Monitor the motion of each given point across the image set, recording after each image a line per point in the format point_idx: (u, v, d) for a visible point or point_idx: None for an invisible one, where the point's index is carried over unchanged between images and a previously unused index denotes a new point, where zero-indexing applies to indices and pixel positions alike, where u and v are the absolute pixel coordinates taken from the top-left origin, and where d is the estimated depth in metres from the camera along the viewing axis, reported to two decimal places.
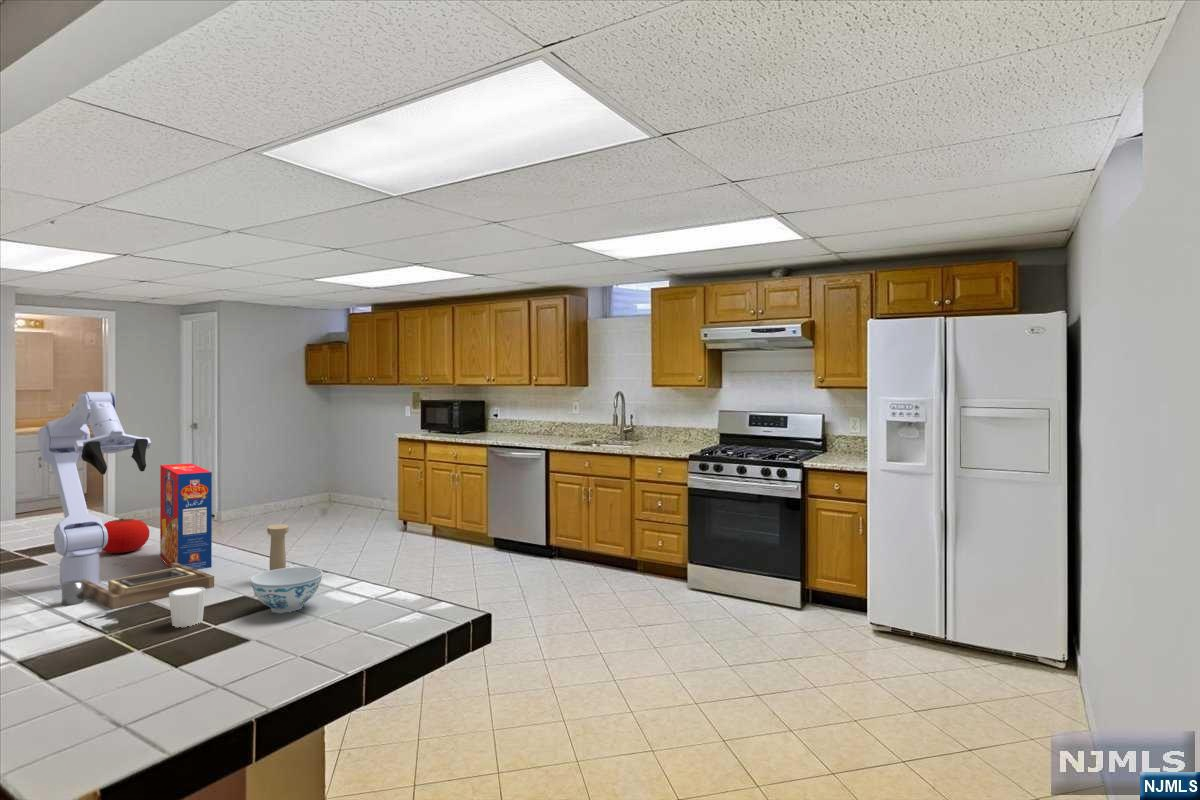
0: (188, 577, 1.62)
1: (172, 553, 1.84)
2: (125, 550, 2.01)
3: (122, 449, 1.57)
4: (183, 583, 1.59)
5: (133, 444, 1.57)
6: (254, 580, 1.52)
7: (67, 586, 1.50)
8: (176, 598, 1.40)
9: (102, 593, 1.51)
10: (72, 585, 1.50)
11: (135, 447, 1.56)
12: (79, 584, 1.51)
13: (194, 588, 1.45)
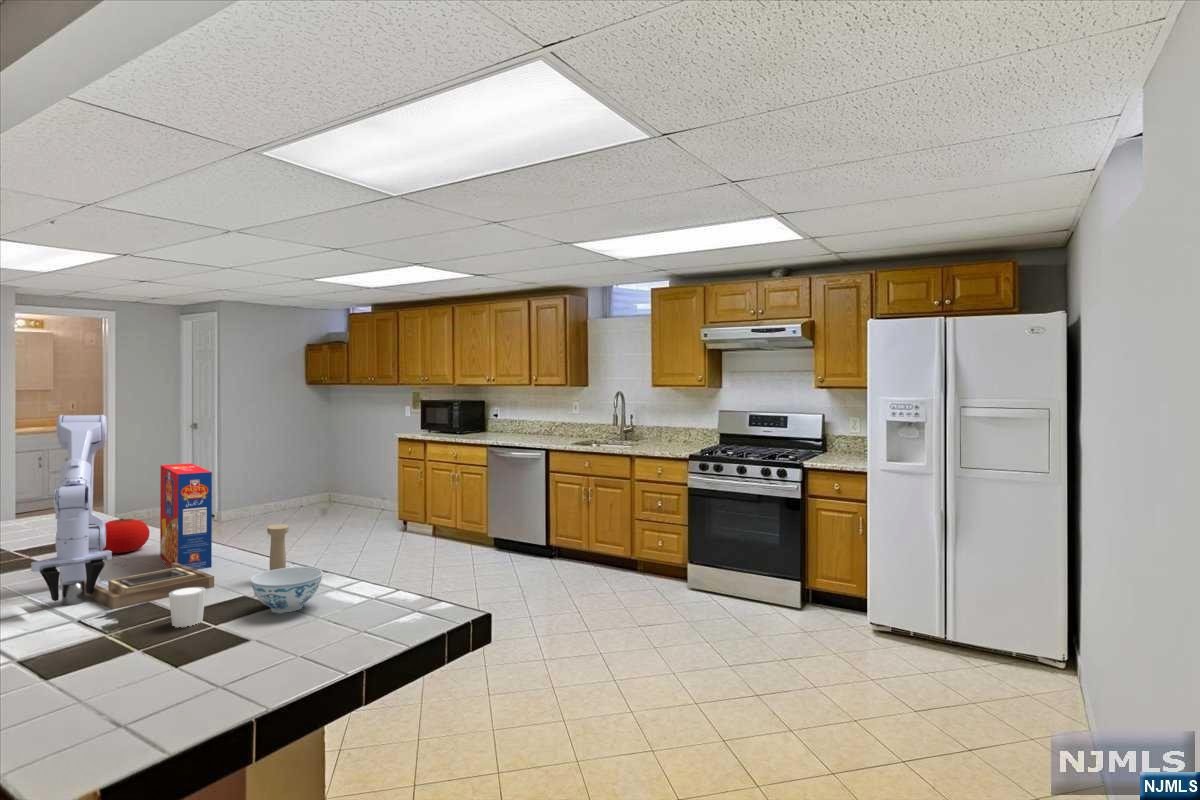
0: (188, 577, 1.62)
1: (172, 553, 1.84)
2: (125, 550, 2.01)
3: None
4: (183, 583, 1.59)
5: (93, 559, 1.54)
6: (254, 580, 1.52)
7: (67, 586, 1.50)
8: (176, 598, 1.40)
9: (102, 593, 1.51)
10: (72, 585, 1.50)
11: (90, 566, 1.54)
12: (79, 584, 1.51)
13: (194, 588, 1.45)
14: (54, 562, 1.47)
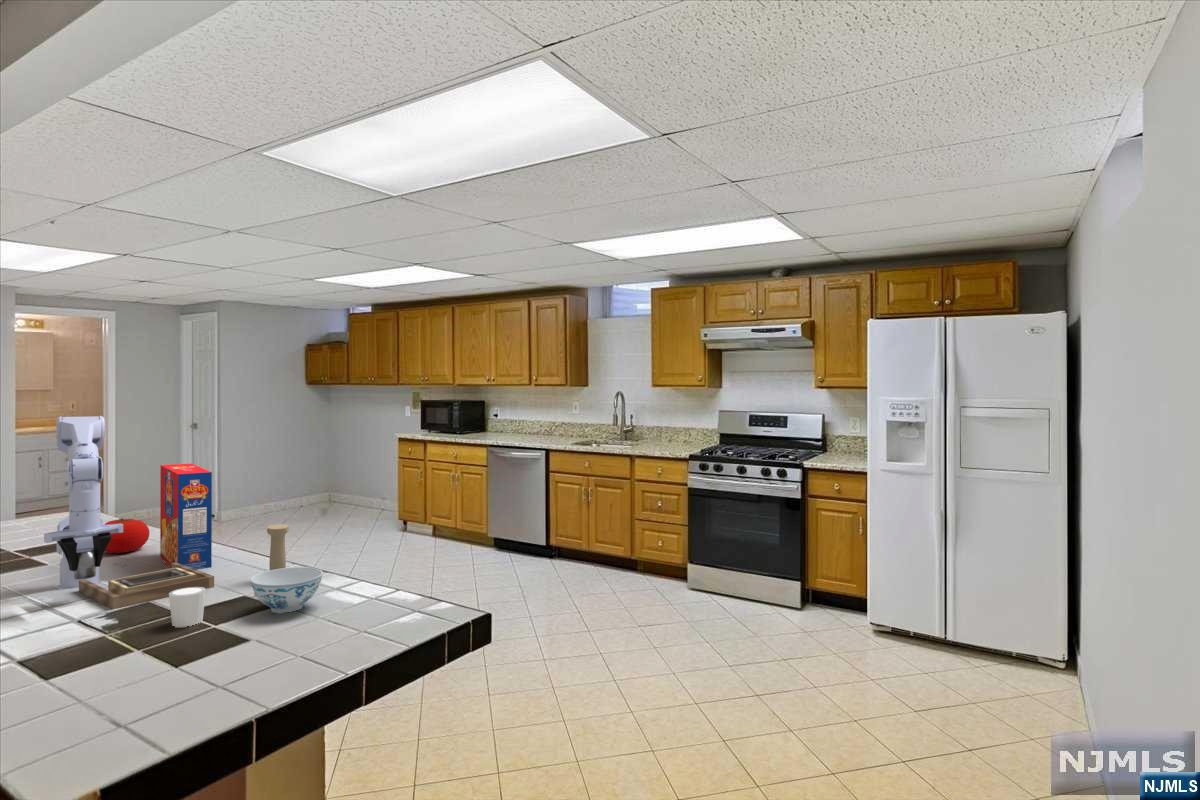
0: (188, 577, 1.62)
1: (172, 553, 1.84)
2: (125, 550, 2.01)
3: None
4: (183, 583, 1.59)
5: (104, 532, 1.56)
6: (254, 580, 1.52)
7: (79, 554, 1.51)
8: (176, 598, 1.40)
9: (102, 593, 1.51)
10: (84, 553, 1.51)
11: (97, 540, 1.54)
12: (91, 552, 1.52)
13: (194, 588, 1.45)
14: (66, 534, 1.49)
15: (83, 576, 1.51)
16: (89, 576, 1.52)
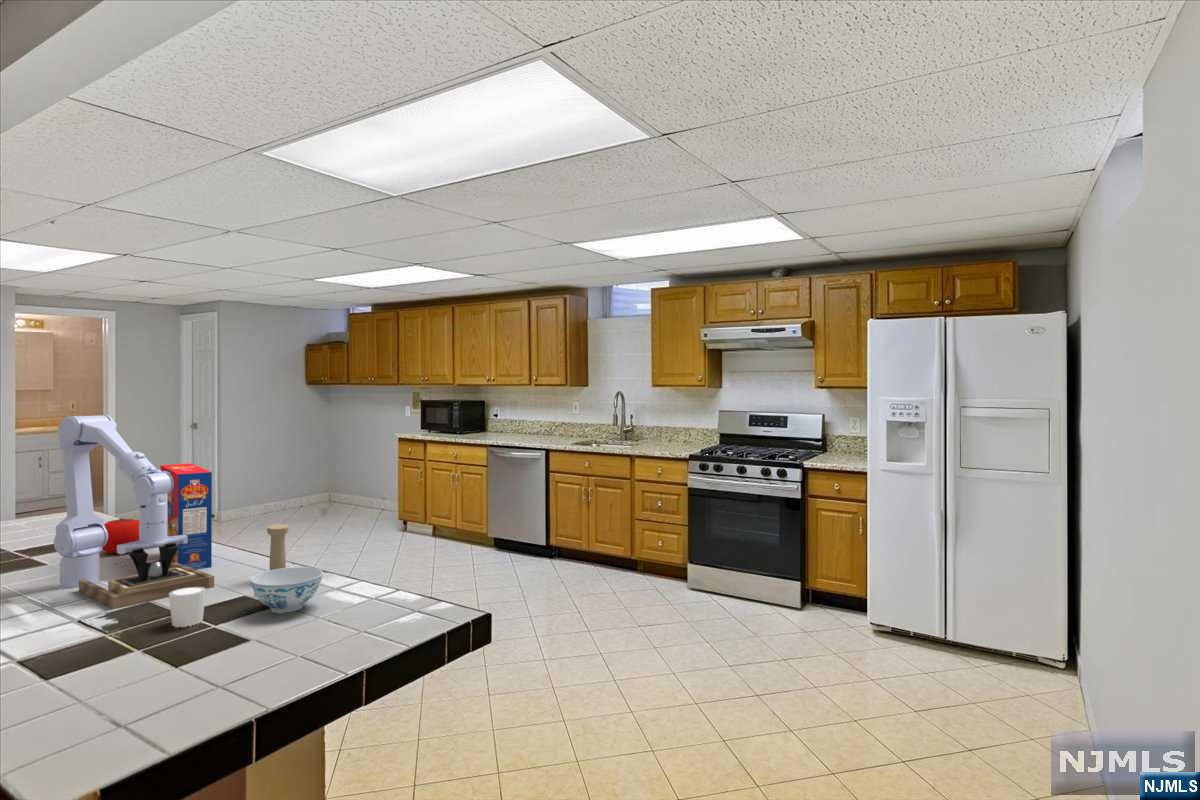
0: (188, 577, 1.62)
1: None
2: None
3: None
4: (183, 583, 1.59)
5: (171, 543, 1.63)
6: (254, 580, 1.52)
7: (149, 564, 1.59)
8: (176, 598, 1.40)
9: (102, 593, 1.51)
10: (154, 563, 1.59)
11: (164, 550, 1.62)
12: (160, 563, 1.60)
13: (194, 588, 1.45)
14: (138, 545, 1.56)
15: None
16: None
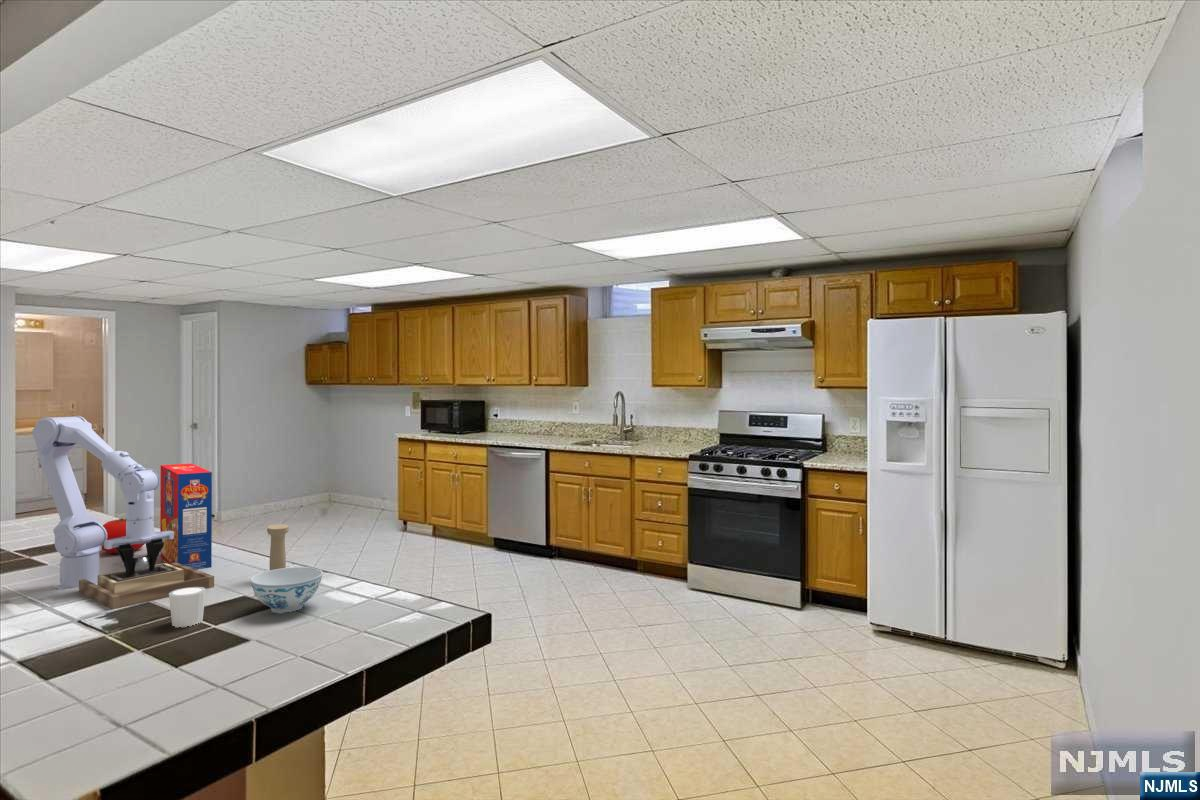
0: (175, 572, 1.66)
1: (172, 553, 1.84)
2: None
3: None
4: (183, 583, 1.59)
5: (157, 539, 1.68)
6: (254, 580, 1.52)
7: (136, 559, 1.63)
8: (176, 598, 1.40)
9: (102, 593, 1.51)
10: (140, 558, 1.64)
11: (151, 546, 1.67)
12: (146, 558, 1.65)
13: (194, 588, 1.45)
14: (125, 540, 1.61)
15: None
16: None
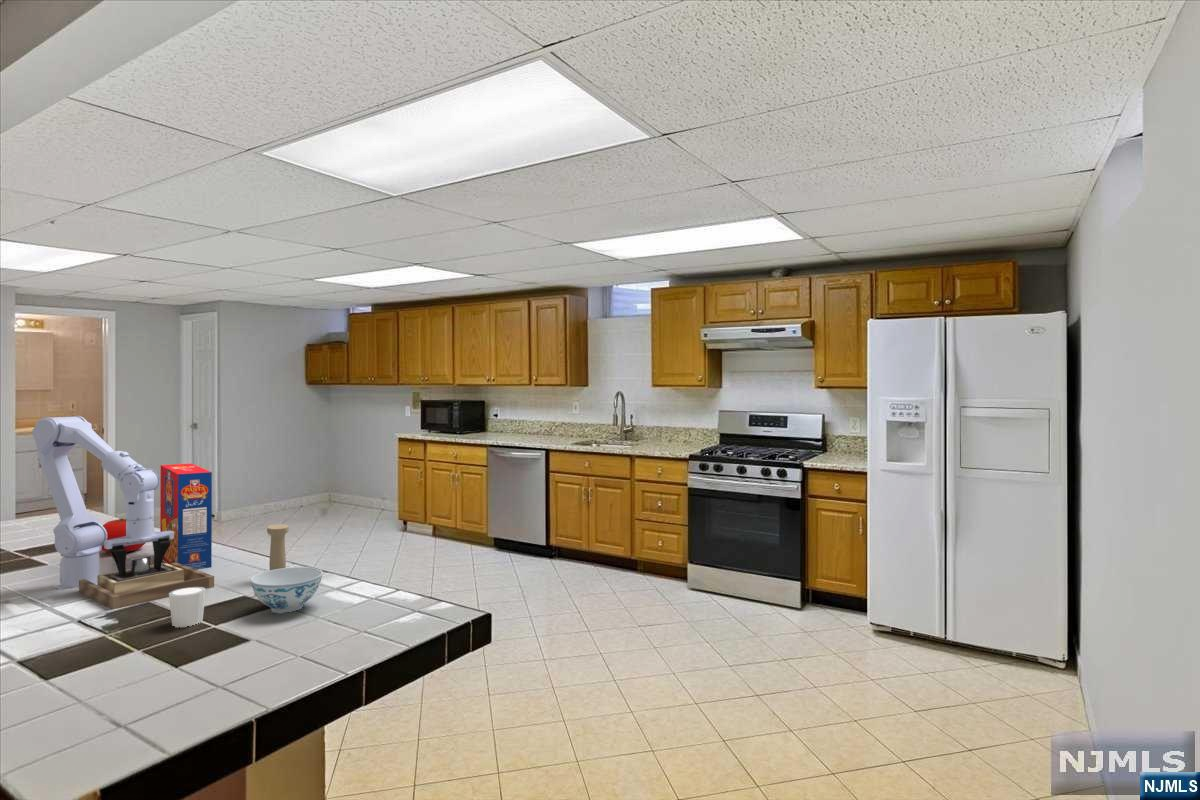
0: (175, 572, 1.66)
1: (172, 553, 1.84)
2: None
3: None
4: (183, 583, 1.59)
5: (157, 539, 1.68)
6: (254, 580, 1.52)
7: (136, 561, 1.63)
8: (176, 598, 1.40)
9: (102, 593, 1.51)
10: (140, 560, 1.64)
11: (157, 545, 1.68)
12: (146, 559, 1.65)
13: (194, 588, 1.45)
14: (125, 540, 1.61)
15: None
16: None
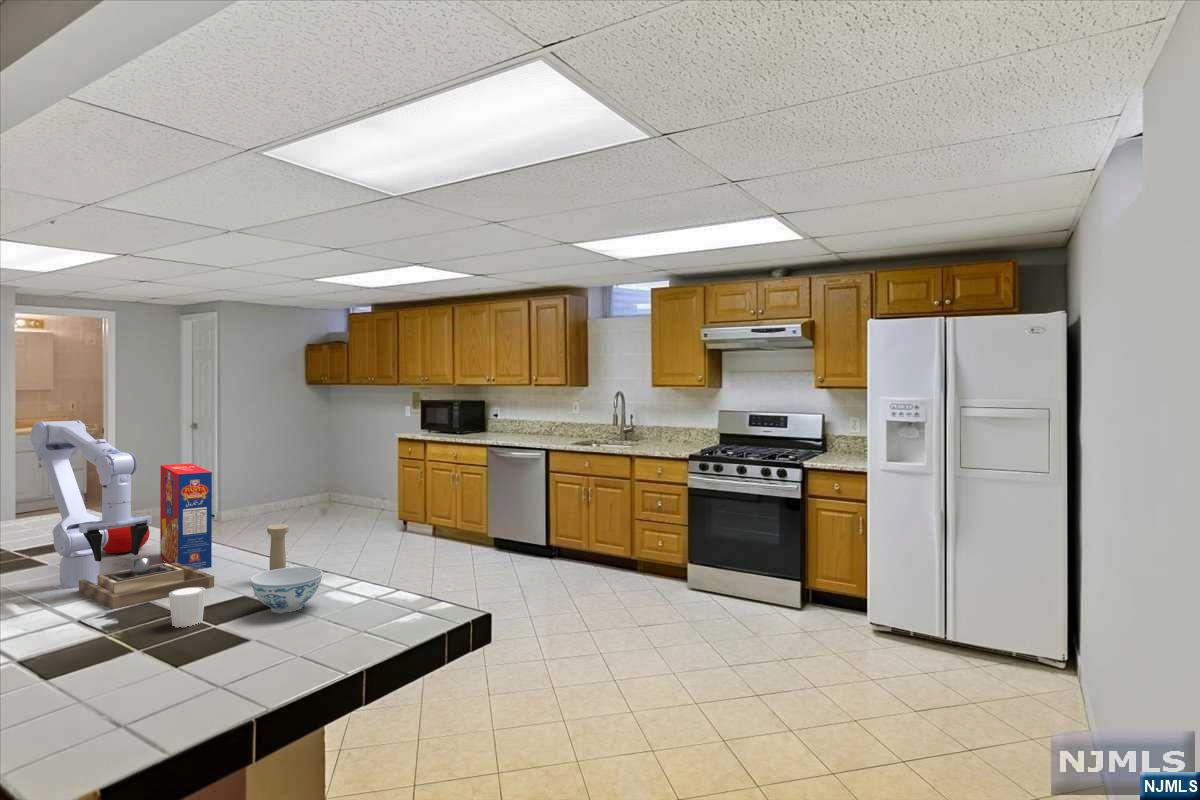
0: (175, 572, 1.66)
1: (172, 553, 1.84)
2: (125, 550, 2.01)
3: None
4: (183, 583, 1.59)
5: (134, 523, 1.64)
6: (254, 580, 1.52)
7: (136, 561, 1.63)
8: (176, 598, 1.40)
9: (102, 593, 1.51)
10: (140, 560, 1.64)
11: (135, 529, 1.64)
12: (146, 559, 1.65)
13: (194, 588, 1.45)
14: (100, 524, 1.57)
15: None
16: None
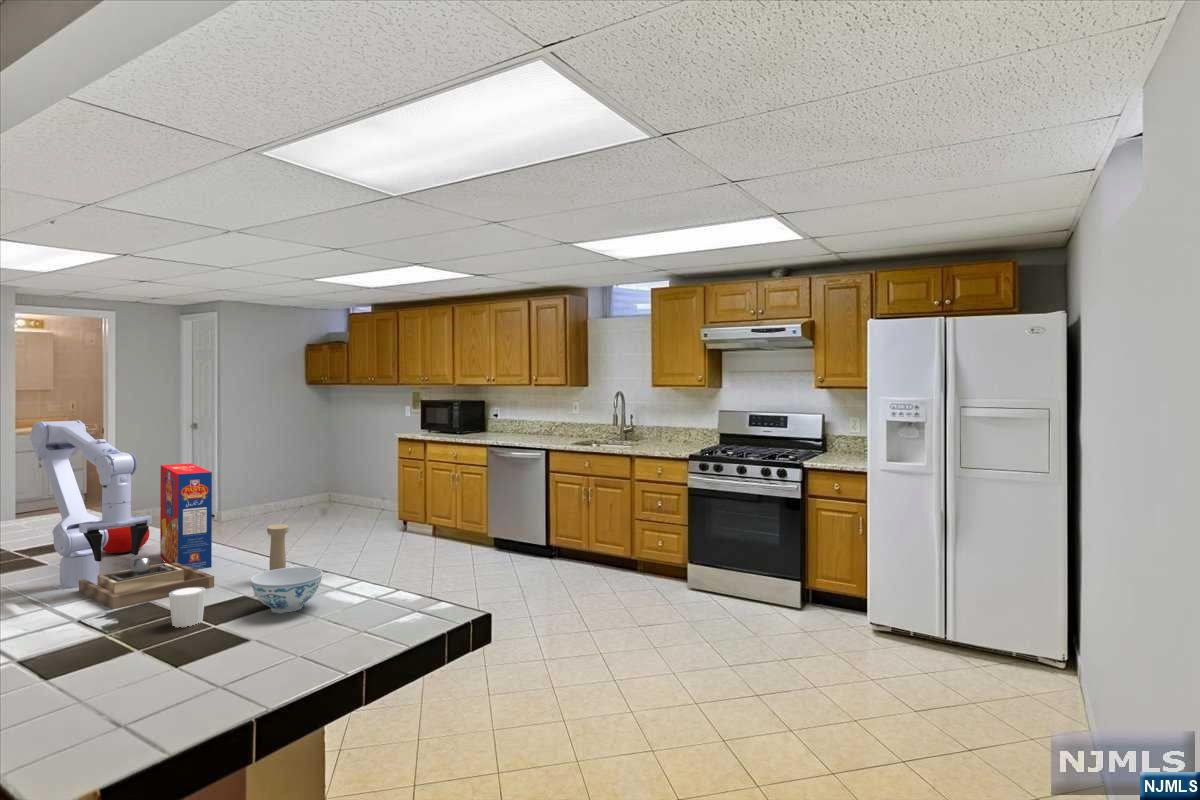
0: (175, 572, 1.66)
1: (172, 553, 1.84)
2: (125, 550, 2.01)
3: None
4: (183, 583, 1.59)
5: (134, 523, 1.64)
6: (254, 580, 1.52)
7: (136, 561, 1.63)
8: (176, 598, 1.40)
9: (102, 593, 1.51)
10: (141, 560, 1.64)
11: (135, 529, 1.64)
12: (146, 559, 1.65)
13: (194, 588, 1.45)
14: (100, 524, 1.57)
15: None
16: None
